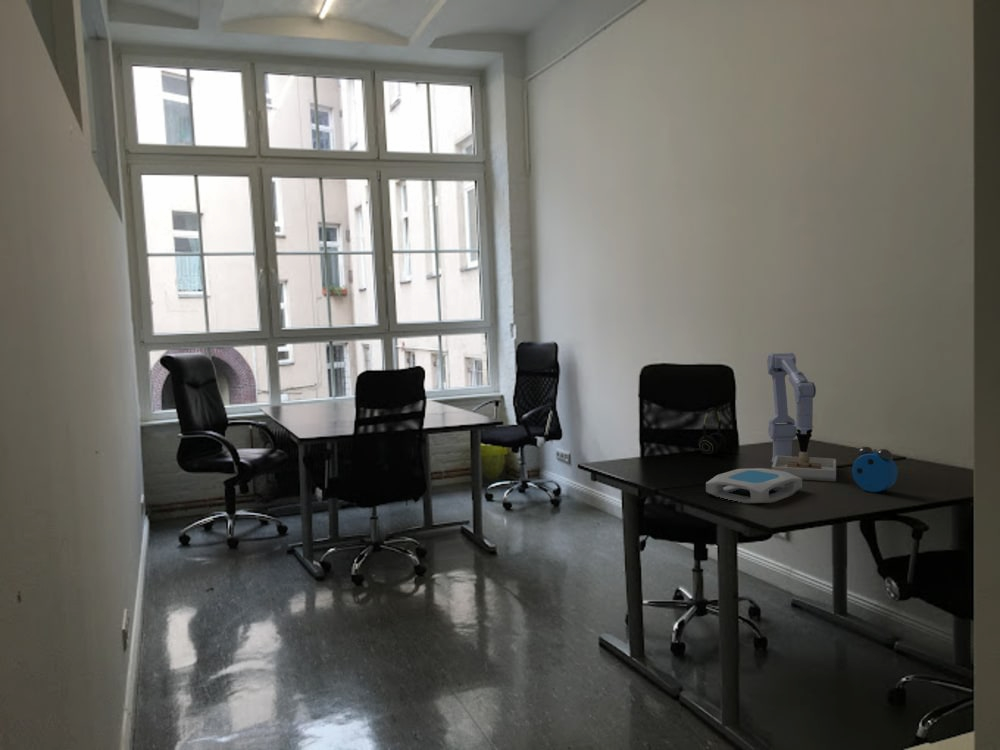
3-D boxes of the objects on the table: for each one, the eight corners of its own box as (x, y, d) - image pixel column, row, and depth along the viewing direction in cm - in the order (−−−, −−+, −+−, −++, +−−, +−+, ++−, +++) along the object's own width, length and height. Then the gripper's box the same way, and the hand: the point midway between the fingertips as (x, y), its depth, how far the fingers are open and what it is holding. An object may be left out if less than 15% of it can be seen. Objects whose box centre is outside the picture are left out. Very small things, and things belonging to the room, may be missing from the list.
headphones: (694, 455, 337) (694, 408, 335) (711, 449, 348) (711, 404, 346) (713, 457, 331) (713, 410, 329) (729, 451, 342) (729, 406, 340)
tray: (775, 465, 312) (775, 455, 312) (835, 468, 304) (835, 458, 303) (771, 477, 292) (771, 466, 292) (835, 481, 284) (836, 470, 283)
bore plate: (788, 466, 306) (788, 461, 306) (821, 468, 301) (821, 463, 301) (786, 472, 295) (786, 467, 295) (821, 474, 290) (821, 469, 290)
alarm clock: (897, 493, 266) (899, 449, 264) (889, 496, 262) (890, 451, 260) (860, 486, 276) (861, 444, 274) (851, 489, 272) (851, 446, 271)
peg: (799, 469, 300) (799, 451, 300) (809, 469, 299) (809, 451, 298) (798, 471, 297) (798, 452, 296) (808, 471, 296) (809, 453, 295)
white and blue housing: (803, 491, 271) (803, 474, 271) (760, 507, 253) (761, 488, 252) (748, 482, 287) (748, 465, 286) (704, 496, 268) (704, 478, 268)
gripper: (793, 411, 304) (793, 445, 306) (792, 416, 291) (791, 452, 292) (813, 411, 302) (813, 446, 303) (812, 417, 288) (812, 454, 290)
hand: (803, 449), depth 297 cm, fingers open, 7 cm apart
